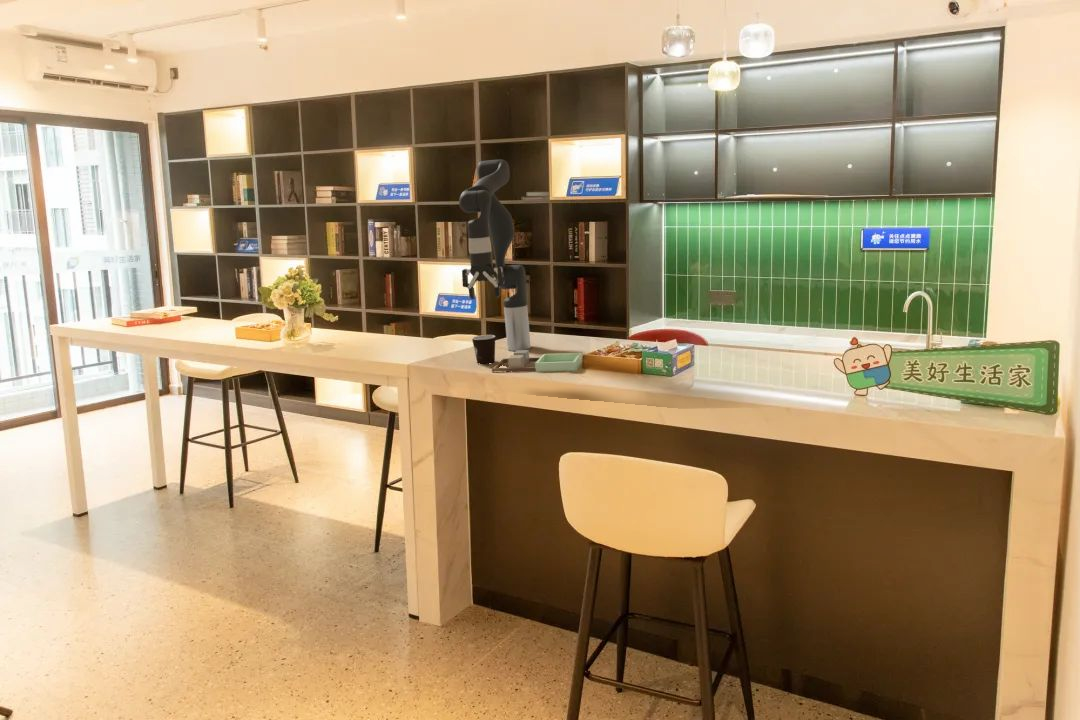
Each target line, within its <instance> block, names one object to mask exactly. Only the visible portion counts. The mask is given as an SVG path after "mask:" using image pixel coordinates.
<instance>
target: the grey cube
mask: <svg viewBox="0 0 1080 720" xmlns="http://www.w3.org/2000/svg"><path fill="white" fill-rule="evenodd" d="M513 355H524V365H527V364H528V363H529V362H530V361H529V358H530V350H529V349H526V350H517V351H513Z"/></svg>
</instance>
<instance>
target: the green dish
mask: <svg viewBox="0 0 1080 720" xmlns="http://www.w3.org/2000/svg"><path fill="white" fill-rule="evenodd" d="M582 364H583V354H582V352H569V353H567V352H564V353H563V352H562V353H544V354H543V353H542V355H541V356H540V358H539V360H538V361H537V362H536V363H535V368H536V371H535V372H536V373H543V372H544V373H546V372H549V373H550V372H551V373H552V372H569V373H576V372H577V371H578V370H579V368H580V367H581V365H582Z"/></svg>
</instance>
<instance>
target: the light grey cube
mask: <svg viewBox="0 0 1080 720" xmlns="http://www.w3.org/2000/svg"><path fill="white" fill-rule="evenodd" d="M508 362H509V368H524V367H525V366H524V355H514V354H512V355H510V356H509V357H508Z"/></svg>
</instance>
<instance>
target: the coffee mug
mask: <svg viewBox="0 0 1080 720" xmlns="http://www.w3.org/2000/svg"><path fill="white" fill-rule="evenodd" d="M471 342H472V345H473V349H474V354H475V355H474V356H475V359H476V363H480V364H487V365H490V364H489V363H492V364H494V363H496V335H494V334H482V335H477V336H473V337H472V338H471Z"/></svg>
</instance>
